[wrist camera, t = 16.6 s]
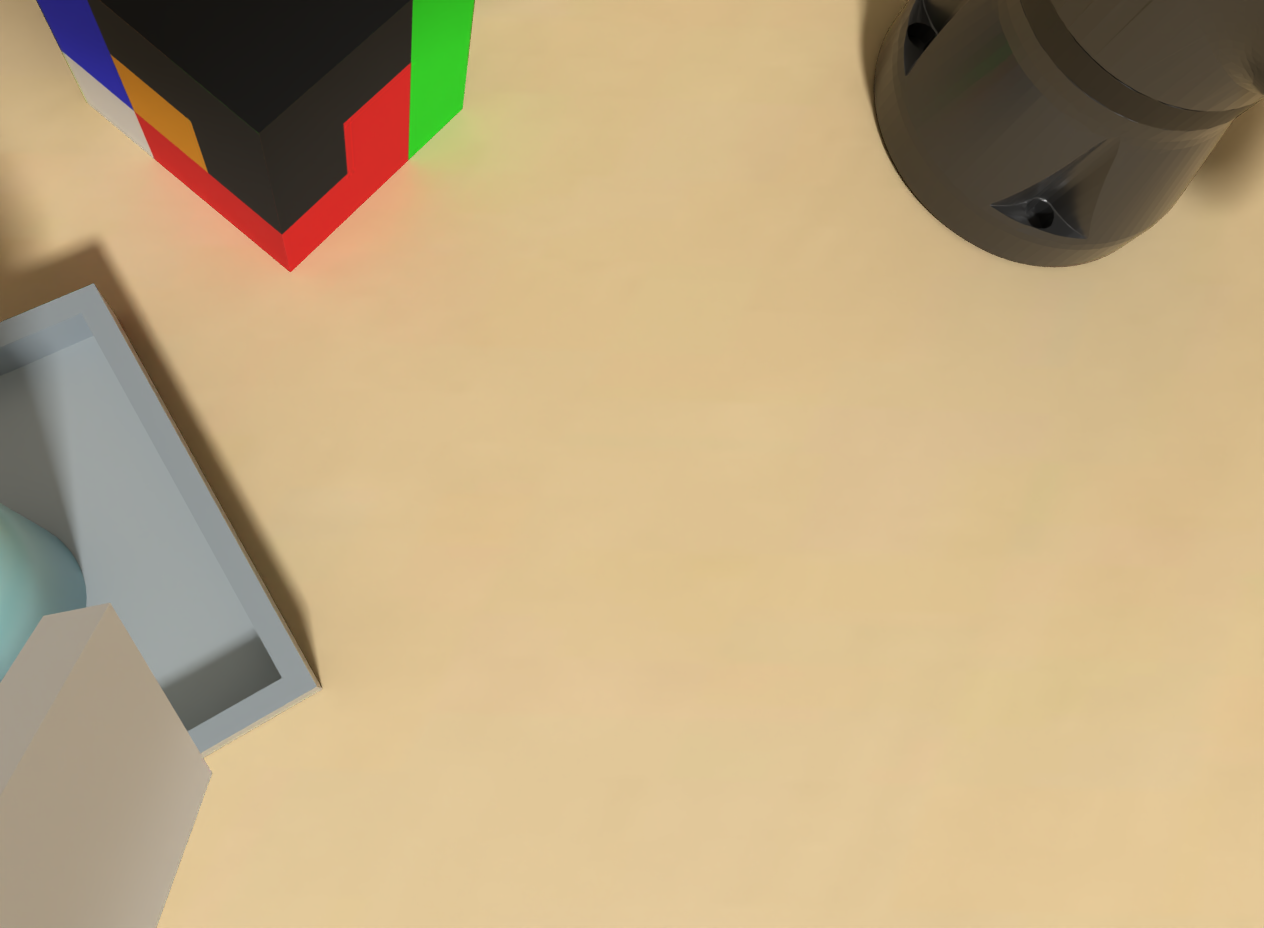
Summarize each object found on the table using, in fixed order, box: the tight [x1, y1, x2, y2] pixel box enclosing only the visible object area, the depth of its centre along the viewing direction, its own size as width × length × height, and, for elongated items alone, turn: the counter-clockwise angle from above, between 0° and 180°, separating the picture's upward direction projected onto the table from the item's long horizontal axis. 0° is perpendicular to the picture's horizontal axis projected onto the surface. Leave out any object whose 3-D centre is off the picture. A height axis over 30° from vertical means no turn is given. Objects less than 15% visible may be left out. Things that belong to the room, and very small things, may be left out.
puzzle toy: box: [36, 0, 475, 272], centre depth 37 cm, size 10×10×10 cm
